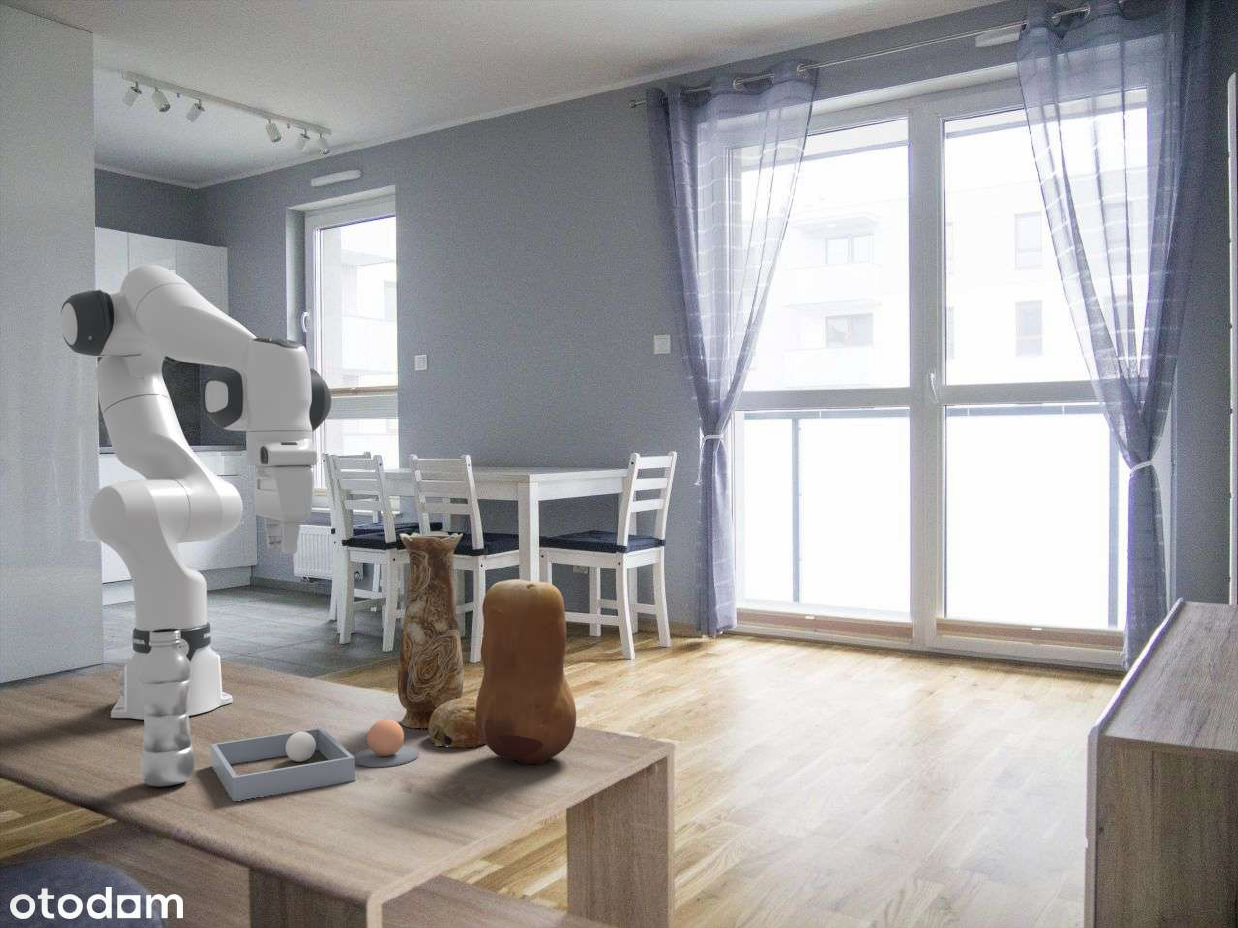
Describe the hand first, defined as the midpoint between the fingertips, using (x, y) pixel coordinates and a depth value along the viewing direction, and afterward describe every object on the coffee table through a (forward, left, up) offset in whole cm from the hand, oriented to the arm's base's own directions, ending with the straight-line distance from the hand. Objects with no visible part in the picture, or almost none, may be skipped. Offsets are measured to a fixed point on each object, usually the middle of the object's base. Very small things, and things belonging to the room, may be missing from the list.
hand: (281, 551), depth 139 cm
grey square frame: (+7, -2, -29) cm, 30 cm away
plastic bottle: (+3, -16, -29) cm, 33 cm away
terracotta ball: (+8, +12, -29) cm, 32 cm away
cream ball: (+3, +1, -29) cm, 29 cm away
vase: (-6, +24, -29) cm, 38 cm away
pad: (+8, +12, -29) cm, 32 cm away
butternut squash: (+20, +28, -29) cm, 45 cm away
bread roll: (+5, +25, -30) cm, 39 cm away
